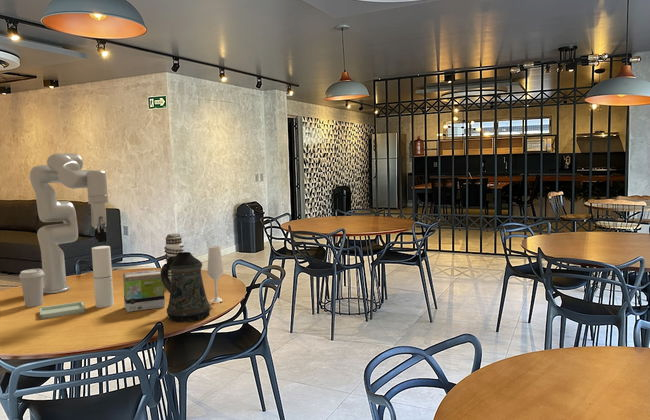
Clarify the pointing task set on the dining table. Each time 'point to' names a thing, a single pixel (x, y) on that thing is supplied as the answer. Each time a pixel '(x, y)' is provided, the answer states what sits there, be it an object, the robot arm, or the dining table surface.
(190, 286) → the beer stein
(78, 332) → the dining table surface
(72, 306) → the tray
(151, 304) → the tea box
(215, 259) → the champagne flute
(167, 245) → the decorative candle
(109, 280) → the cylindrical container
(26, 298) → the coffee cup
